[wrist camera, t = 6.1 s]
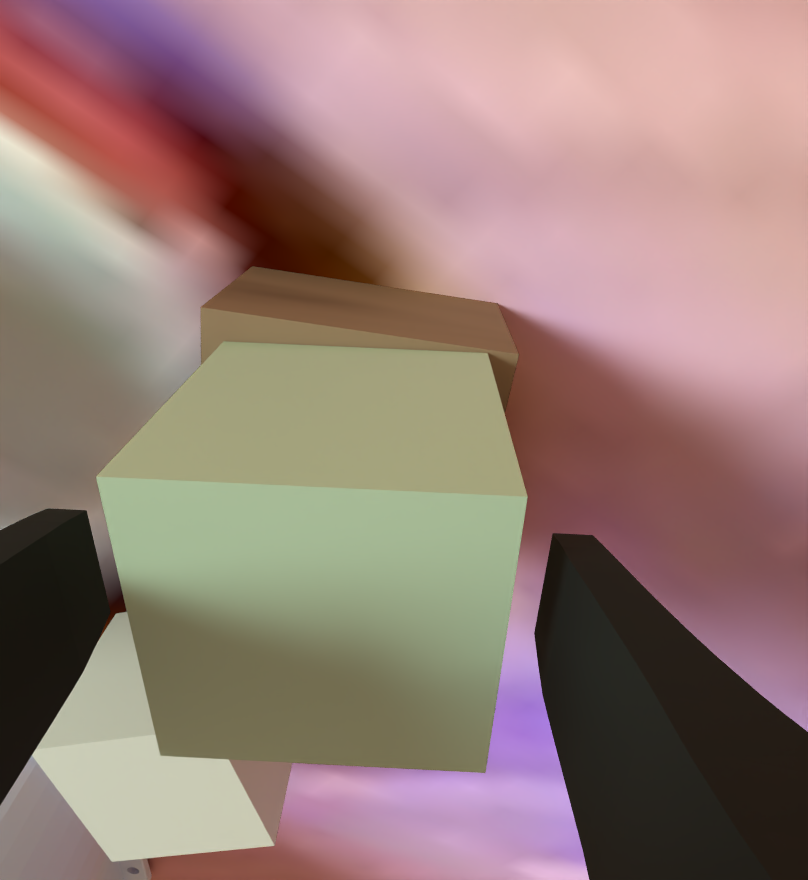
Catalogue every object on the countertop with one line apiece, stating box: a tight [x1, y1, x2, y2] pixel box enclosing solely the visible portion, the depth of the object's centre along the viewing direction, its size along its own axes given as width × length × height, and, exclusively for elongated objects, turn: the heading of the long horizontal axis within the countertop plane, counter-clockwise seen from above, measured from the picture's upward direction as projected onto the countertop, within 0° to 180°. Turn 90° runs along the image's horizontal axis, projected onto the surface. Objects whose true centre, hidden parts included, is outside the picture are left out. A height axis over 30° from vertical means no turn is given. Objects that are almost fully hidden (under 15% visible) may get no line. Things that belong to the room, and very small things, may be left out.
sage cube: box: [96, 341, 528, 773], centre depth 10 cm, size 5×5×5 cm
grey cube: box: [32, 612, 292, 862], centre depth 18 cm, size 5×5×5 cm
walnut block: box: [201, 266, 519, 414], centre depth 14 cm, size 6×6×4 cm
